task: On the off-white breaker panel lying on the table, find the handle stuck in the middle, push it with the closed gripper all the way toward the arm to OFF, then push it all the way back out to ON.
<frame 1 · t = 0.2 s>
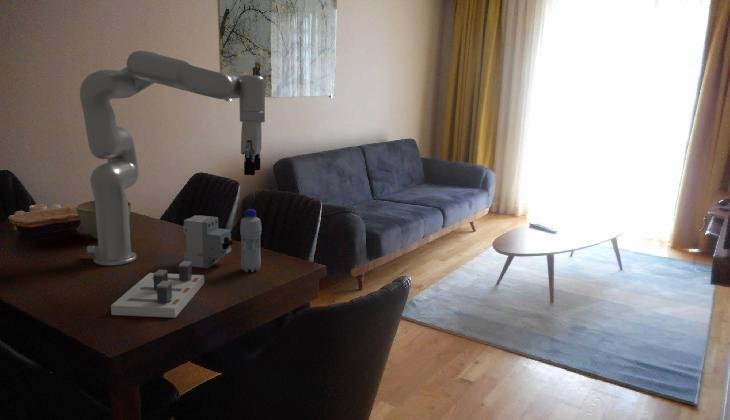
hand: (252, 172, 166), 31 cm above the table, tool pointing down, fingers open, 9 cm apart
breaker 2: (185, 270, 152), point 5 cm above the table, slide at 8.0 cm
tripped breaker: (160, 279, 144), point 5 cm above the table, slide at 4.0 cm
flower pot: (106, 237, 198), on the table
bottle: (250, 270, 170), on the table
circuit breaker: (210, 264, 173), on the table
breaker panel: (161, 297, 145), on the table
breaker 1: (164, 291, 136), point 5 cm above the table, slide at 8.0 cm
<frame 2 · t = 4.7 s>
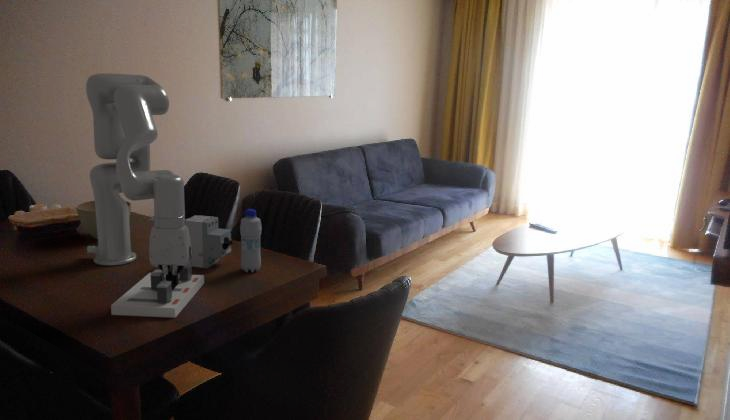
hand: (172, 287, 144), 3 cm above the table, tool pointing down, fingers closed
tripped breaker: (157, 279, 144), point 5 cm above the table, slide at 3.2 cm, touching gripper
everything else where it was.
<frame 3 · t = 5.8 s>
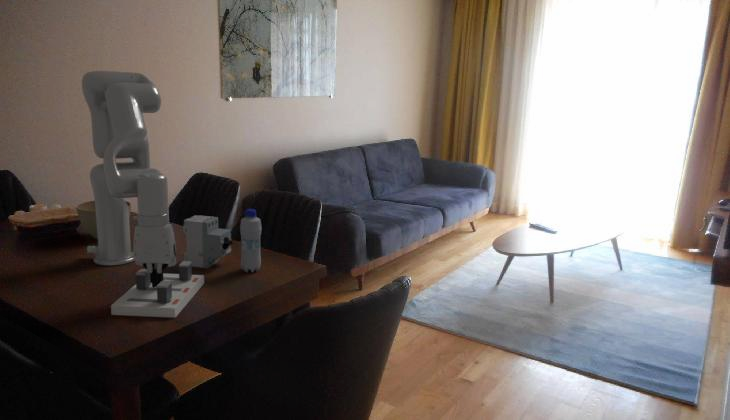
hand: (157, 285, 144), 4 cm above the table, tool pointing down, fingers closed
tripped breaker: (143, 279, 144), point 5 cm above the table, slide at -0.7 cm, touching gripper
everything else where it was.
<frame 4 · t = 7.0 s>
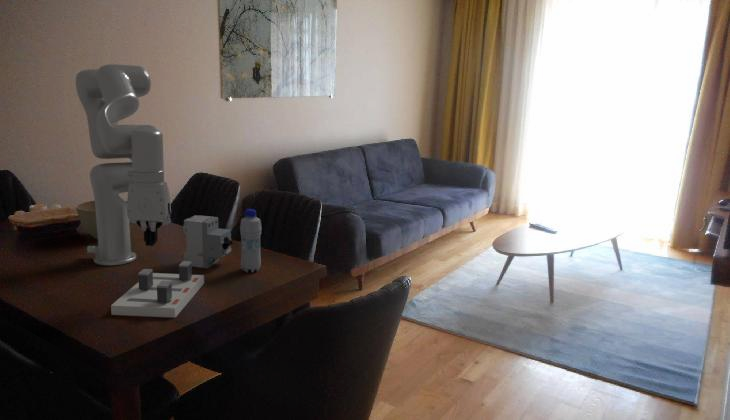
hand: (151, 244, 142), 15 cm above the table, tool pointing down, fingers closed
tripped breaker: (145, 279, 144), point 5 cm above the table, slide at -0.1 cm
everything else where it was.
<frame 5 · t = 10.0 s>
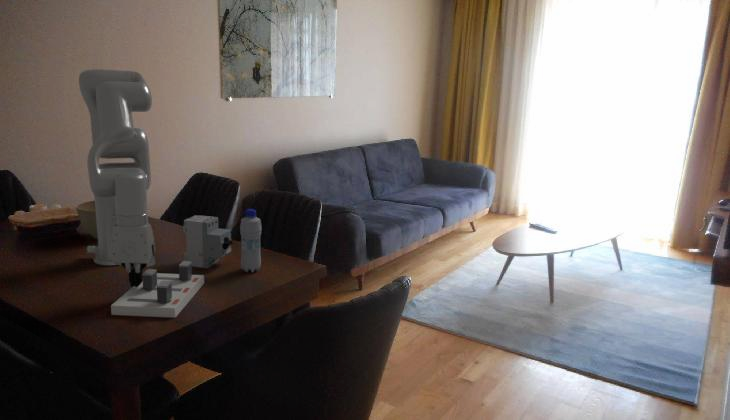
hand: (136, 285, 144), 3 cm above the table, tool pointing down, fingers closed
tripped breaker: (149, 279, 144), point 5 cm above the table, slide at 1.1 cm, touching gripper
everything else where it was.
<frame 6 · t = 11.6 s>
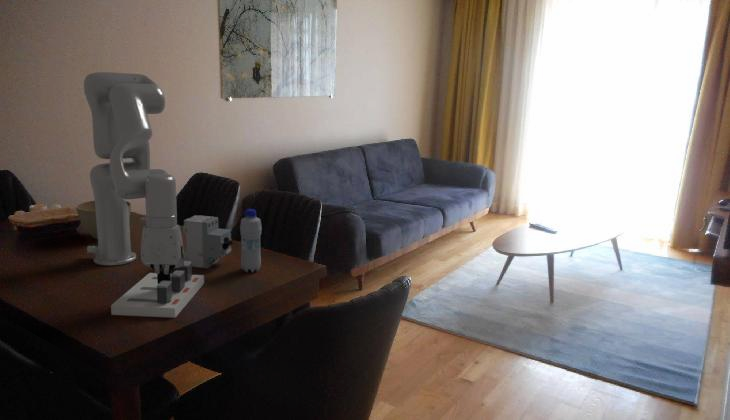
hand: (164, 286, 144), 3 cm above the table, tool pointing down, fingers closed
tripped breaker: (177, 280, 144), point 5 cm above the table, slide at 8.7 cm, touching gripper
everything else where it was.
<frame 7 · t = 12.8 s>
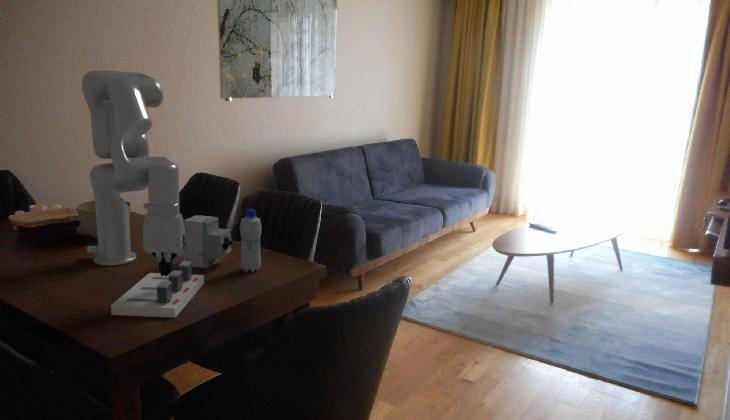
hand: (165, 274, 144), 7 cm above the table, tool pointing down, fingers closed
tripped breaker: (175, 280, 144), point 5 cm above the table, slide at 8.1 cm
everything else where it was.
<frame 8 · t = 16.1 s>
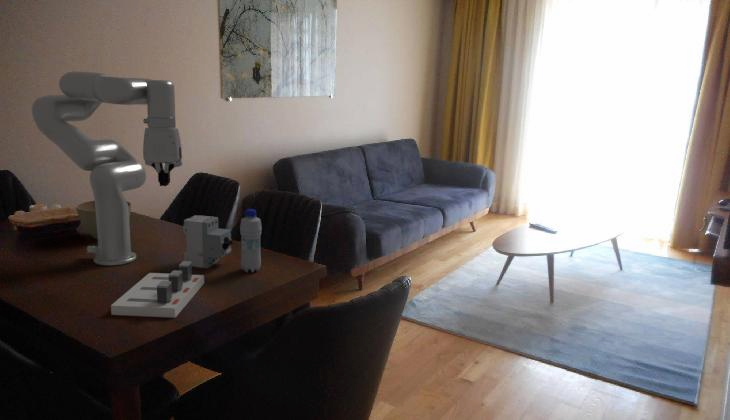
hand: (164, 185, 159), 27 cm above the table, tool pointing down, fingers closed
nothing on the table moved.
at the end: tripped breaker slide at 8.1 cm; breaker 2 slide at 8.0 cm; breaker 1 slide at 8.0 cm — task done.
